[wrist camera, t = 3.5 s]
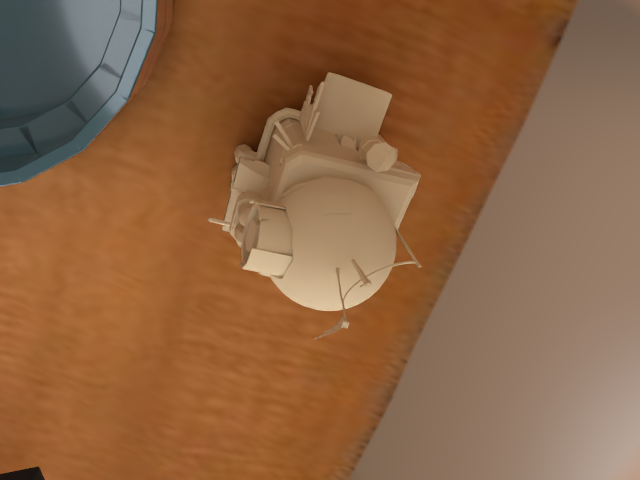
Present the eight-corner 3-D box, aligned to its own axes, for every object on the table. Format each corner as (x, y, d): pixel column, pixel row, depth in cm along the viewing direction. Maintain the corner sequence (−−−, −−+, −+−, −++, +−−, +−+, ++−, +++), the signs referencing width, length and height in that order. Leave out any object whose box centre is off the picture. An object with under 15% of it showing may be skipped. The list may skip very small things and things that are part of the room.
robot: (247, 42, 28) (251, 96, 15) (399, 88, 30) (529, 176, 16) (200, 231, 32) (169, 416, 18) (338, 263, 34) (403, 452, 20)
